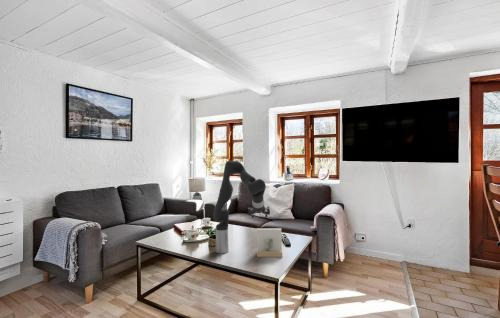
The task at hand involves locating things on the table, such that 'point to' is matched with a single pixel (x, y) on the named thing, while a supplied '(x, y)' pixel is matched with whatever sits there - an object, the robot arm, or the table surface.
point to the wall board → (261, 242)
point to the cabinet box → (269, 244)
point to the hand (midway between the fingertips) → (259, 216)
